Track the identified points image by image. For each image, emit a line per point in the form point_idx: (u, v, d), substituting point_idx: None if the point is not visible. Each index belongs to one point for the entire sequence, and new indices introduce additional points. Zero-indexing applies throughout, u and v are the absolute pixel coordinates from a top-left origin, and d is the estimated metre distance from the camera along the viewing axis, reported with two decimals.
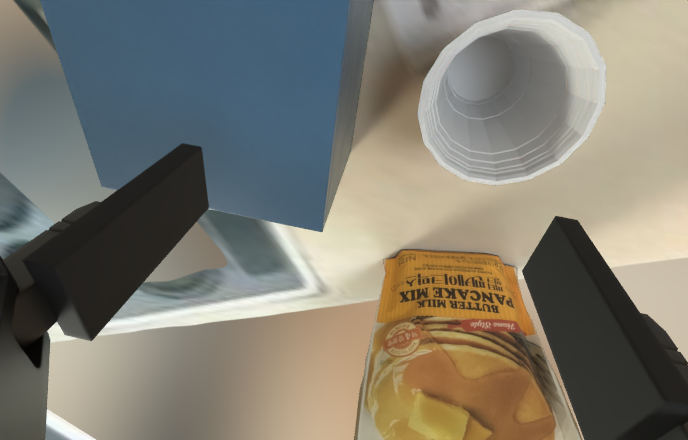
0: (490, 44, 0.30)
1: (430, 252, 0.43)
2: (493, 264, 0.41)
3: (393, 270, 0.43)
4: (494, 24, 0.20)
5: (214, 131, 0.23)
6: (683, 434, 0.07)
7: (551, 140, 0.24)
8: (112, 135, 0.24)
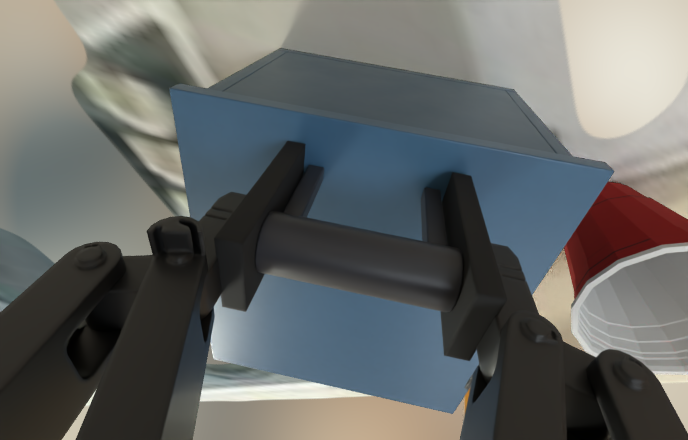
0: None
1: None
2: None
3: None
4: (686, 250, 0.18)
5: (357, 334, 0.21)
6: (495, 322, 0.09)
7: None
8: (239, 325, 0.22)
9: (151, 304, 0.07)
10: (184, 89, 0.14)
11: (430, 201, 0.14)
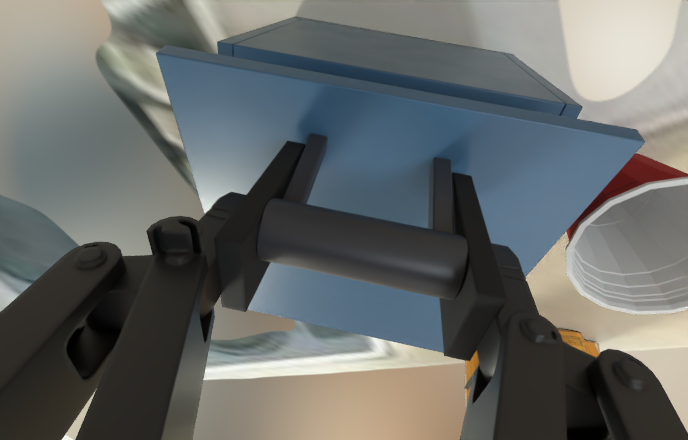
0: None
1: None
2: (578, 343, 0.41)
3: None
4: (669, 186, 0.20)
5: (366, 289, 0.22)
6: (496, 322, 0.09)
7: None
8: None
9: (151, 304, 0.07)
10: (172, 54, 0.13)
11: (439, 175, 0.13)
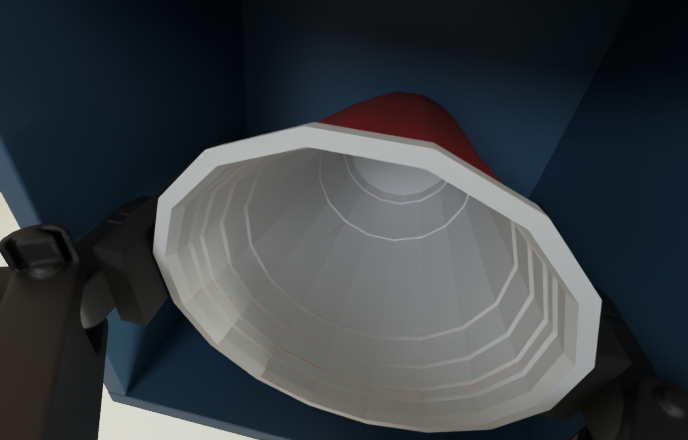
0: None
1: None
2: None
3: None
4: (206, 324, 0.11)
5: None
6: (614, 387, 0.08)
7: None
8: None
9: (15, 323, 0.07)
10: None
11: None
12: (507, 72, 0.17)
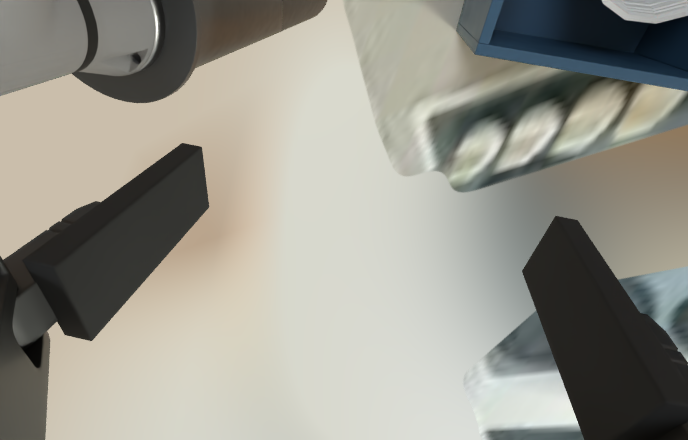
0: None
1: None
2: None
3: None
4: None
5: None
6: (683, 434, 0.07)
7: None
8: None
9: None
10: None
11: None
12: None
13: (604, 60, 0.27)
